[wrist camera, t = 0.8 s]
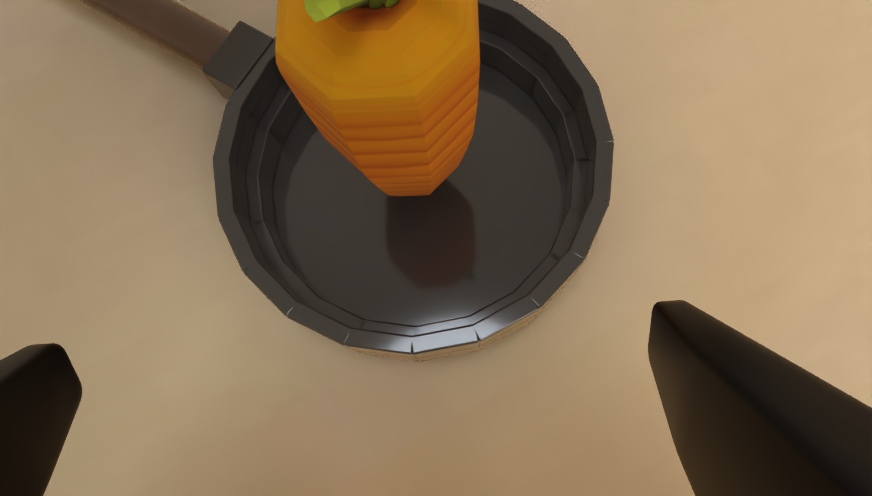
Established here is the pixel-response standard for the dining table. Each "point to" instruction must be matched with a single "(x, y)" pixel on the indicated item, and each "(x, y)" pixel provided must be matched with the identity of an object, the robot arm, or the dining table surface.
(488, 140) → the pan
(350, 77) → the carrot
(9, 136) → the dining table surface
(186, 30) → the pan handle
